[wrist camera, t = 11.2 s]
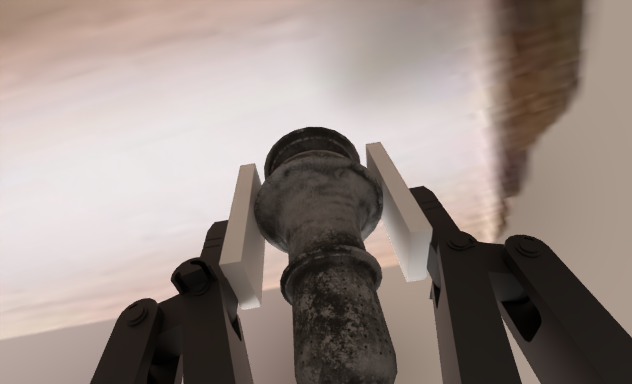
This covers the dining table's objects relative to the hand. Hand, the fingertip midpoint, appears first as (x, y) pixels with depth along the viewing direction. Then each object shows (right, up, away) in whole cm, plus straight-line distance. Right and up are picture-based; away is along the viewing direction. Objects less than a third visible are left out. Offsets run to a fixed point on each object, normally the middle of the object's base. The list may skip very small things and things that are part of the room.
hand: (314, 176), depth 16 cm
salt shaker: (0, 0, 0) cm, 1 cm away
